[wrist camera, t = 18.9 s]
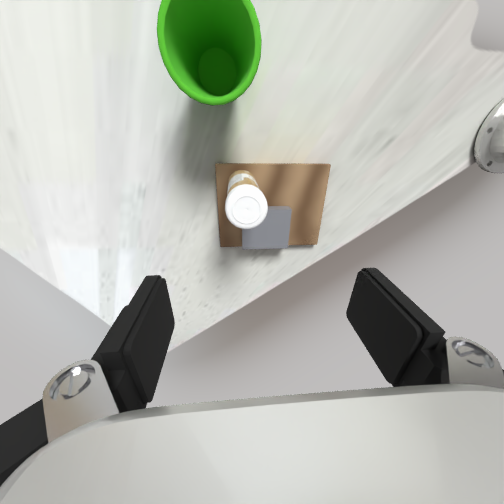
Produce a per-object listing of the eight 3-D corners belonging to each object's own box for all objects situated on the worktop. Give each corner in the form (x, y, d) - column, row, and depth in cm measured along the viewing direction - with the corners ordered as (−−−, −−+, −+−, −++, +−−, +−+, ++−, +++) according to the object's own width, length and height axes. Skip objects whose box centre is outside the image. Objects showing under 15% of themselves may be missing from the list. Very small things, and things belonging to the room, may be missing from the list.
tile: (291, 209, 35) (241, 210, 34) (287, 248, 38) (242, 249, 37) (288, 205, 37) (241, 206, 36) (285, 242, 40) (241, 243, 39)
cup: (226, 129, 32) (224, 126, 22) (169, 80, 28) (137, 52, 19) (265, 67, 29) (282, 33, 19) (206, 5, 25) (190, -74, 16)
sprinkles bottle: (261, 188, 35) (276, 215, 23) (238, 204, 36) (241, 237, 24) (245, 162, 33) (253, 178, 21) (221, 180, 34) (215, 204, 22)
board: (327, 163, 35) (330, 164, 34) (314, 241, 42) (317, 244, 41) (215, 163, 34) (215, 164, 33) (220, 244, 40) (220, 246, 39)
